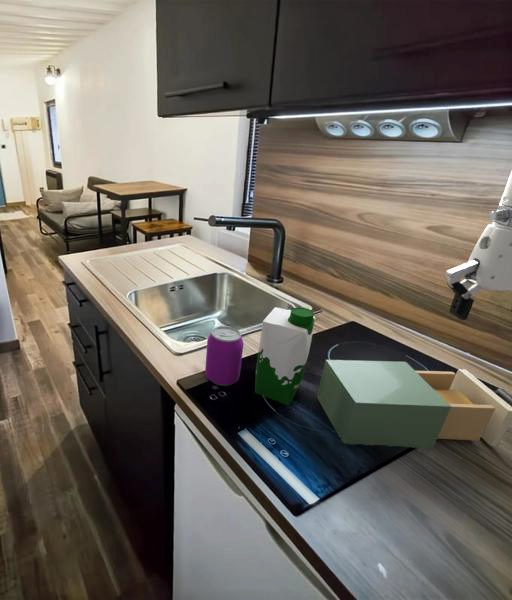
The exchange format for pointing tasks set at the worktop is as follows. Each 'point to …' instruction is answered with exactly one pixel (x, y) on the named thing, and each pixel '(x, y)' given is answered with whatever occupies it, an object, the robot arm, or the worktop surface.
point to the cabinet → (381, 403)
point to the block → (453, 396)
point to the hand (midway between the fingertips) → (488, 315)
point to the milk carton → (283, 353)
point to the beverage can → (224, 355)
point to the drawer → (472, 407)
